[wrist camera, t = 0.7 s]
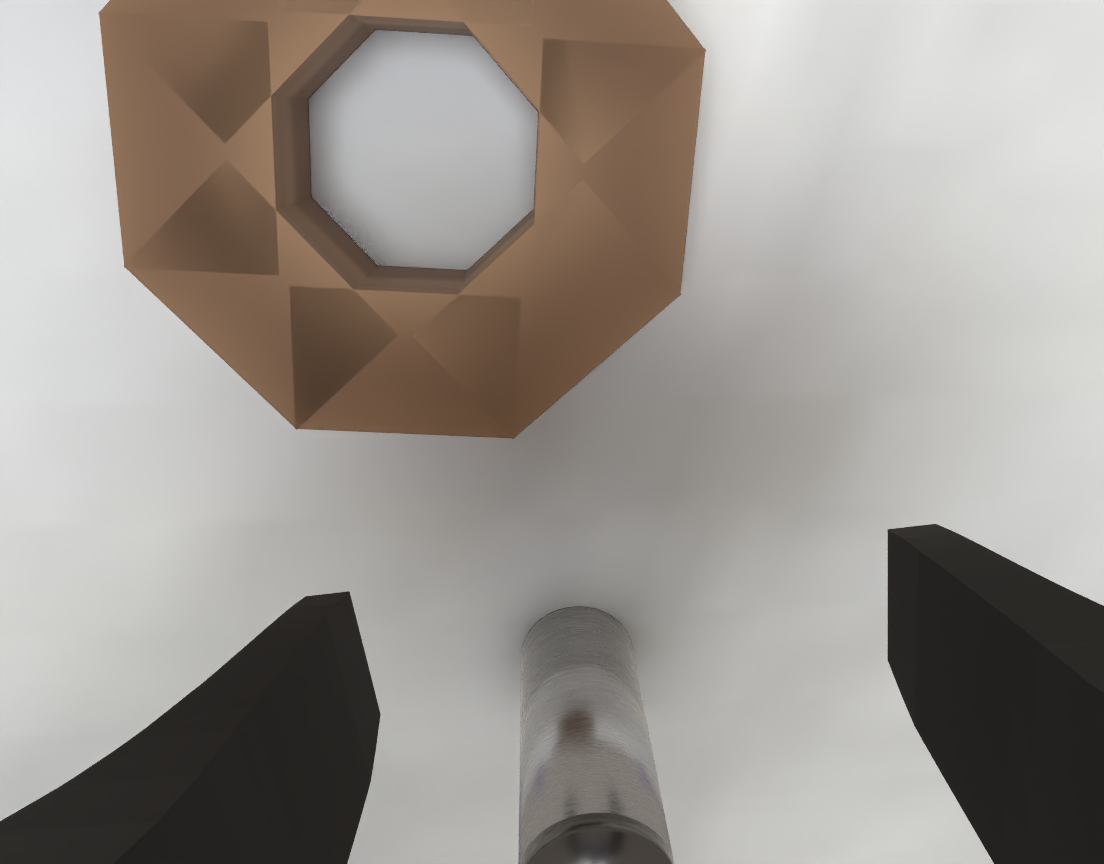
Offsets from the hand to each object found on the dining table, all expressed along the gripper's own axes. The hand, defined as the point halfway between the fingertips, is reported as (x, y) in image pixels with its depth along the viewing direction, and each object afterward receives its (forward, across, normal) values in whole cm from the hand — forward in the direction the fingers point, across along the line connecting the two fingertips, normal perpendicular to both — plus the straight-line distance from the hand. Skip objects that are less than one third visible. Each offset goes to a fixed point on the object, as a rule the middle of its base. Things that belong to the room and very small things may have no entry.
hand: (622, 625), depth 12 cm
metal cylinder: (+10, +1, +8) cm, 13 cm away
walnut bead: (+11, +3, -6) cm, 12 cm away
